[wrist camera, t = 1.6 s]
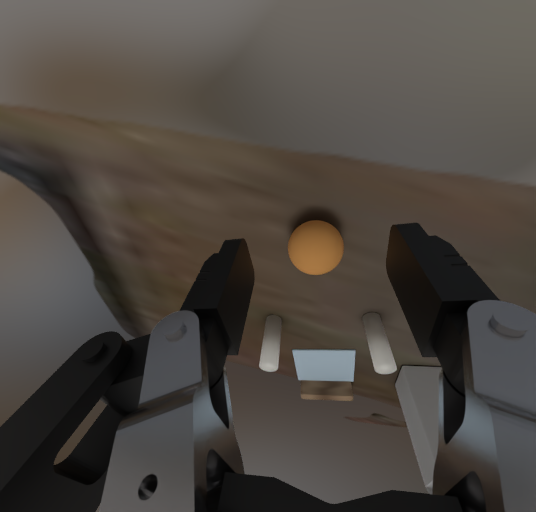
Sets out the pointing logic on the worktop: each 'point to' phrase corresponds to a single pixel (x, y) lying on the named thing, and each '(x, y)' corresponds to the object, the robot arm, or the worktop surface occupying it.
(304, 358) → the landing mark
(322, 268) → the ball
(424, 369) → the milk carton
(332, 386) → the backstop strip
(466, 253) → the worktop surface
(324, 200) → the worktop surface
